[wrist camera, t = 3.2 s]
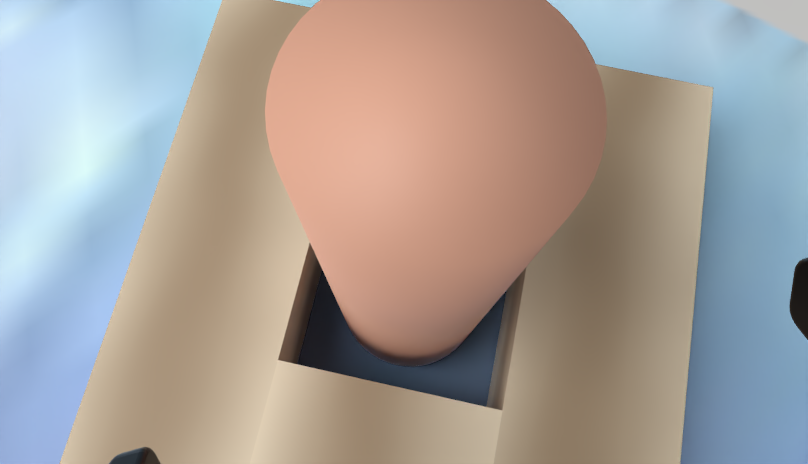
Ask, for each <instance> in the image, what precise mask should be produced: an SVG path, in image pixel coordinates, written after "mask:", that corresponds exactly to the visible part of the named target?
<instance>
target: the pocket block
mask: <svg viewBox="0 0 808 464" xmlns="http://www.w3.org/2000/svg"><path fill="white" fill-rule="evenodd" d="M310 9H311V8H310V7H305V6H300V5H295V4H290V3H284V2H279V1H274V0H222V3H221V6H220V9H219V11H218V14H217V17H216V20H215V23H214V26H213V29H212V31H211V34H210V37H209V40H208V43H207V46H206V48H205V51H204V54H203V57H202V60H201V63H200V66H199V68H198V71H197V74H196V77H195V80H194V83H193V85H192V88H191V91H190V94H189V97H188V100H187V103H186V105H185V108H184V111H183V114H182V117H181V120H180V122H179V125H178V128H177V131H176V134H175V137H174V140H173V142H172V145H171V148H170V151H169V154H168V157H167V159H166V162H165V165H164V168H163V171H162V174H161V176H160V179H159V182H158V185H157V188H156V191H155V194H154V196H153V199H152V202H151V205H150V208H149V211H148V213H147V216H146V219H145V222H144V225H143V228H142V231H141V233H140V236H139V239H138V242H137V245H136V248H135V250H134V253H133V256H132V259H131V262H130V265H129V268H128V270H127V273H126V276H125V279H124V282H123V285H122V287H121V290H120V293H119V296H118V299H117V302H116V305H115V307H114V310H113V313H112V316H111V319H110V322H109V324H108V327H107V330H106V333H105V336H104V339H103V342H102V344H101V347H100V350H99V353H98V356H97V359H96V361H95V364H94V367H93V370H92V373H91V376H90V379H89V381H88V384H87V387H86V390H85V393H84V396H83V398H82V401H81V404H80V407H79V410H78V413H77V415H76V418H75V421H74V424H73V427H72V430H71V433H70V435H69V438H68V441H67V444H66V447H65V450H64V452H63V455H62V458H61V461H60V464H109V463H110V461H111V460H112V459H113V458H114V457H115V456H116V455H118V454H120V453H124V452H127V451H131V450H134V449H138V448H141V447H149V448H151V449H152V450H153V451H154V452H155V454H156V455H157V457H158V459H159V461H160V463H161V464H680V459H681V448H682V437H683V425H684V414H685V403H686V391H687V380H688V368H689V357H690V346H691V334H692V323H693V312H694V300H695V289H696V278H697V266H698V255H699V244H700V232H701V221H702V209H703V198H704V187H705V175H706V164H707V153H708V141H709V130H710V119H711V107H712V96H713V87H708V86H703V85H698V84H693V83H688V82H683V81H678V80H673V79H668V78H663V77H658V76H653V75H648V74H643V73H638V72H633V71H628V70H623V69H618V68H613V67H607V66H602V65H597V64H596V67H597V70H598V72H599V75H600V77H601V81H602V85H603V90H604V94H605V99H606V112H607V127H606V140H605V145H604V149H603V154H602V159H601V161H600V164H599V167H598V169H597V172H596V175H595V178H594V180H593V181H592V183H591V185H590V187H589V189H588V190H587V192H586V194H585V196H584V198H583V199H582V200H581V201H580V203H579V204H578V205H577V207H576V208H575V209H574V211H573V212H572V213H571V215H570V216H569V217H568V218H567V219H566V220H565V222H564V223H563V224H562V225H561V226H560V228H559V229H558V230H557V231H556V232H555V234H554V235H553V236H552V237H551V238H550V239H549V241H548V242H547V243H546V244H545V245H544V247H543V248H542V249H541V250H540V251H539V252H538V254H537V255H536V256H535V257H534V258H533V260H532V261H531V262H530V263H529V264H528V265H527V267H526V268H525V269H524V270H523V271H522V273H521V274H520V275H519V276H518V277H517V278H516V280H515V281H514V282H513V283H512V284H511V286H510V287H509V288H508V289H507V291H506V296H505V302H504V308H503V313H502V319H501V325H500V331H499V336H498V342H497V348H496V354H495V359H494V365H493V371H492V376H491V382H490V388H489V394H488V399H487V405H486V407H485V406H480V405H476V404H471V403H467V402H462V401H458V400H453V399H449V398H445V397H440V396H436V395H431V394H427V393H422V392H418V391H413V390H409V389H405V388H400V387H396V386H391V385H387V384H382V383H378V382H373V381H369V380H365V379H360V378H356V377H351V376H347V375H342V374H338V373H333V372H329V371H324V370H320V369H316V368H311V367H307V366H302V365H298V360H299V357H300V353H301V349H302V345H303V341H304V337H305V334H306V330H307V326H308V322H309V318H310V315H311V311H312V307H313V303H314V299H315V295H316V292H317V288H318V284H319V280H320V276H321V272H322V268H321V265H320V263H319V261H318V259H317V257H316V254H315V252H314V250H313V248H312V246H311V243H310V241H309V239H308V237H307V235H306V233H305V230H304V228H303V226H302V224H301V222H300V219H299V217H298V215H297V213H296V211H295V208H294V206H293V204H292V202H291V200H290V198H289V195H288V193H287V191H286V189H285V187H284V184H283V182H282V180H281V178H280V176H279V173H278V171H277V168H276V166H275V163H274V160H273V157H272V155H271V152H270V148H269V143H268V138H267V133H266V121H265V104H266V93H267V87H268V83H269V78H270V74H271V70H272V68H273V65H274V63H275V60H276V58H277V55H278V53H279V51H280V49H281V47H282V45H283V44H284V42H285V40H286V38H287V37H288V35H289V33H290V32H291V31H292V29H293V28H294V27H295V26H296V24H297V23H298V22H299V20H300V19H301V18H302V17H303V16H304V15H305V14H306V13H307V12H308V11H309V10H310Z"/></svg>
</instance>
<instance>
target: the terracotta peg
mask: <svg viewBox="0 0 808 464" xmlns="http://www.w3.org/2000/svg"><path fill="white" fill-rule="evenodd" d="M265 121H266V133H267V138H268V143H269V148H270V152H271V155H272V157H273V160H274V163H275V166H276V168H277V171H278V173H279V176H280V178H281V180H282V182H283V184H284V187H285V189H286V191H287V193H288V195H289V198H290V200H291V202H292V204H293V206H294V208H295V211H296V213H297V215H298V217H299V219H300V222H301V224H302V226H303V228H304V230H305V233H306V235H307V237H308V239H309V241H310V243H311V246H312V248H313V250H314V252H315V254H316V257H317V259H318V261H319V263H320V265H321V268H322V270H323V272H324V274H325V276H326V279H327V281H328V283H329V285H330V287H331V289H332V292H333V294H334V296H335V298H336V300H337V303H338V305H339V307H340V309H341V311H342V314H343V316H344V318H345V320H346V322H347V325H348V327H349V329H350V330H351V332H352V334H353V336H354V337H355V338H356V340H357V341H358V342H359V344H360V345H361V346H362V347H363V348H364V349H365V350H367V351H368V352H369V353H370V354H372V355H373V356H375V357H377V358H378V359H380V360H383V361H385V362H387V363H391V364H394V365H399V366H413V367H414V366H423V365H427V364H431V363H434V362H436V361H439V360H441V359H442V358H444V357H446V356H448V355H449V354H450V353H452V352H453V351H454V350H456V349H457V348H458V347H459V346H460V345H461V344H462V342H463V341H464V340H465V339H466V338H467V336H468V335H469V334H470V333H471V332H472V331H473V329H474V328H475V327H476V326H477V325H478V323H479V322H480V321H481V320H482V319H483V318H484V316H485V315H486V314H487V313H488V312H489V310H490V309H491V308H492V307H493V306H494V304H495V303H496V302H497V301H498V300H499V299H500V297H501V296H502V295H503V294H504V293H505V291H506V290H507V289H508V288H509V287H510V286H511V284H512V283H513V282H514V281H515V280H516V278H517V277H518V276H519V275H520V274H521V273H522V271H523V270H524V269H525V268H526V267H527V265H528V264H529V263H530V262H531V261H532V260H533V258H534V257H535V256H536V255H537V254H538V252H539V251H540V250H541V249H542V248H543V247H544V245H545V244H546V243H547V242H548V241H549V239H550V238H551V237H552V236H553V235H554V234H555V232H556V231H557V230H558V229H559V228H560V226H561V225H562V224H563V223H564V222H565V220H566V219H567V218H568V217H569V216H570V215H571V213H572V212H573V211H574V209H575V208H576V207H577V205H578V204H579V203H580V201H581V200H582V199H583V198H584V196H585V194H586V192H587V190H588V189H589V187H590V185H591V183H592V181H593V180H594V178H595V175H596V172H597V169H598V167H599V164H600V161H601V159H602V154H603V149H604V145H605V140H606V127H607V112H606V99H605V94H604V90H603V85H602V81H601V77H600V75H599V72H598V70H597V67H596V64H595V62H594V59H593V57H592V56H591V54H590V52H589V50H588V48H587V46H586V44H585V43H584V41H583V40H582V38H581V37H580V36H579V34H578V33H577V31H576V30H575V29H574V27H573V26H572V25H571V24H570V23H569V22H568V20H567V19H566V18H565V17H564V16H563V15H562V14H561V13H560V12H559V11H558V10H557V9H556V8H555V7H553V6H552V5H551V4H550V3H549V2H547V1H546V0H320V1H319V2H317V3H316V4H315V5H314V6H313V7H312V8H311V9H310V10H309V11H308V12H307V13H306V14H305V15H304V16H303V17H302V18H301V19H300V20H299V22H298V23H297V24H296V26H295V27H294V28H293V29H292V31H291V32H290V33H289V35H288V37H287V38H286V40H285V42H284V44H283V45H282V47H281V49H280V51H279V53H278V55H277V58H276V60H275V63H274V65H273V68H272V70H271V74H270V78H269V83H268V87H267V93H266V104H265Z"/></svg>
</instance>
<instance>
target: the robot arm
mask: <svg viewBox="0 0 808 464" xmlns="http://www.w3.org/2000/svg"><path fill="white" fill-rule="evenodd" d="M790 313H791V317H792V319H793V321H794V323H795V324H796V326H797V327H798V328H799V329H800V331H801V332H802V333H803V335H804V336H805V337H806V338H807V340H808V258H805V259H802V260H801V261H799V262H798V264H797V265H796V267H795V271H794V278H793V285H792V292H791V299H790ZM109 464H161V463H160V461H159V459H158V457H157V455H156V454H155V452H154V451H153V450H152V449H151V448H149V447H141V448H138V449H134V450H131V451H127V452H124V453H120V454H118V455H116V456H115V457H114V458H113V459H112V460H111V461H110V463H109Z"/></svg>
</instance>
